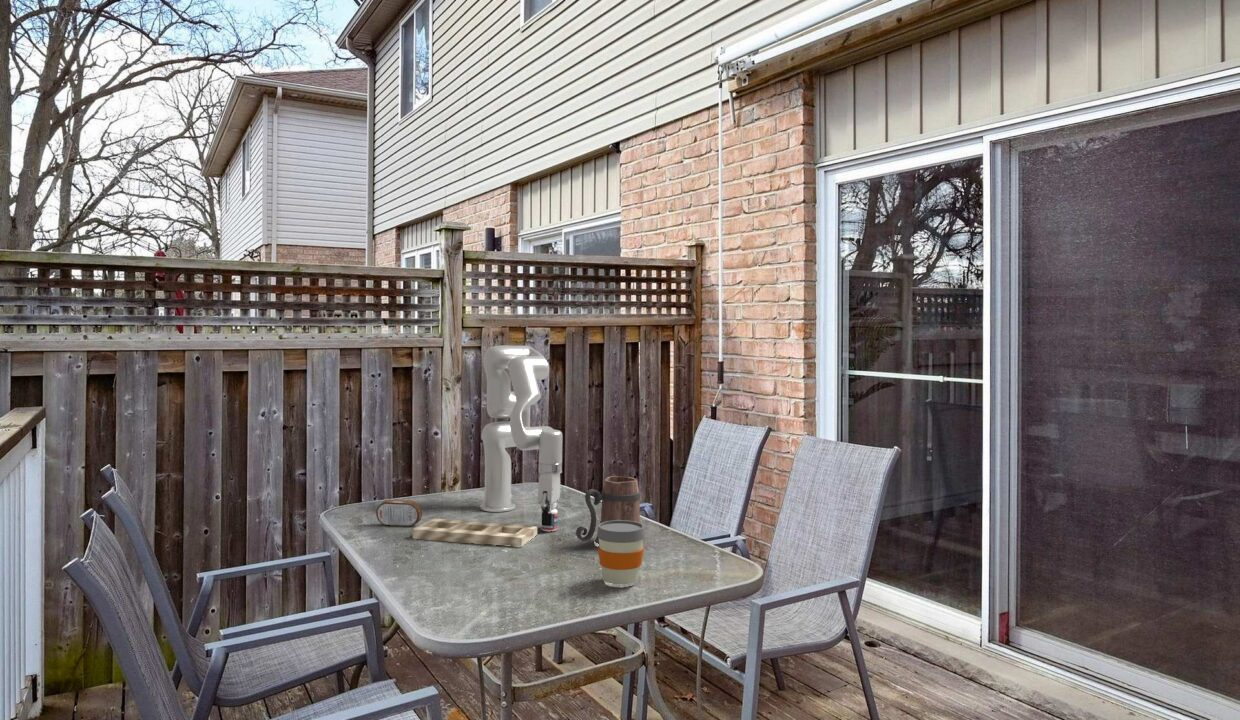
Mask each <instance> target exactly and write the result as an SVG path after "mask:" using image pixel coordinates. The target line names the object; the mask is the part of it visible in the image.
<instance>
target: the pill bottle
mask: <svg viewBox="0 0 1240 720" xmlns="http://www.w3.org/2000/svg"><path fill="white" fill-rule="evenodd" d="M546 503H549V502H546ZM546 506H547V507H548V508H549V506H548V505H546ZM555 508H556V503H555V502H554V503H553V504H552V505H551V513H552V524H551V526H548V525H542V524H541V526H540V527H541V531H543V532H549V533H550V532H551V531H552V532H555V531H557V530H558V525H559V524H558V514H559V513H558V512H559V511H558V510H556V509H557V508H556V509H555Z"/></svg>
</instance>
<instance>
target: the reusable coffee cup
mask: <svg viewBox="0 0 1240 720" xmlns="http://www.w3.org/2000/svg"><path fill="white" fill-rule="evenodd" d="M596 534H597V535H596V537H598V539H599V546H598V547H597V552H598V553H597V554H598V560H599V566H601V573H602V581H603V580H604V581H606V582H609V583H613V584H628V583H632V582H635V581H637V580H638V581H639V575H640V574H639V573H640V566H642V563H643V555H644V549H645V547H643V539H644V540H645V538H646V533H645V525H644V524H643V523H642V522H641V523H639V522H635V521H628V520H612V521H606V522H602V523H600V522H599V523H598V526H597V533H596Z"/></svg>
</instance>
